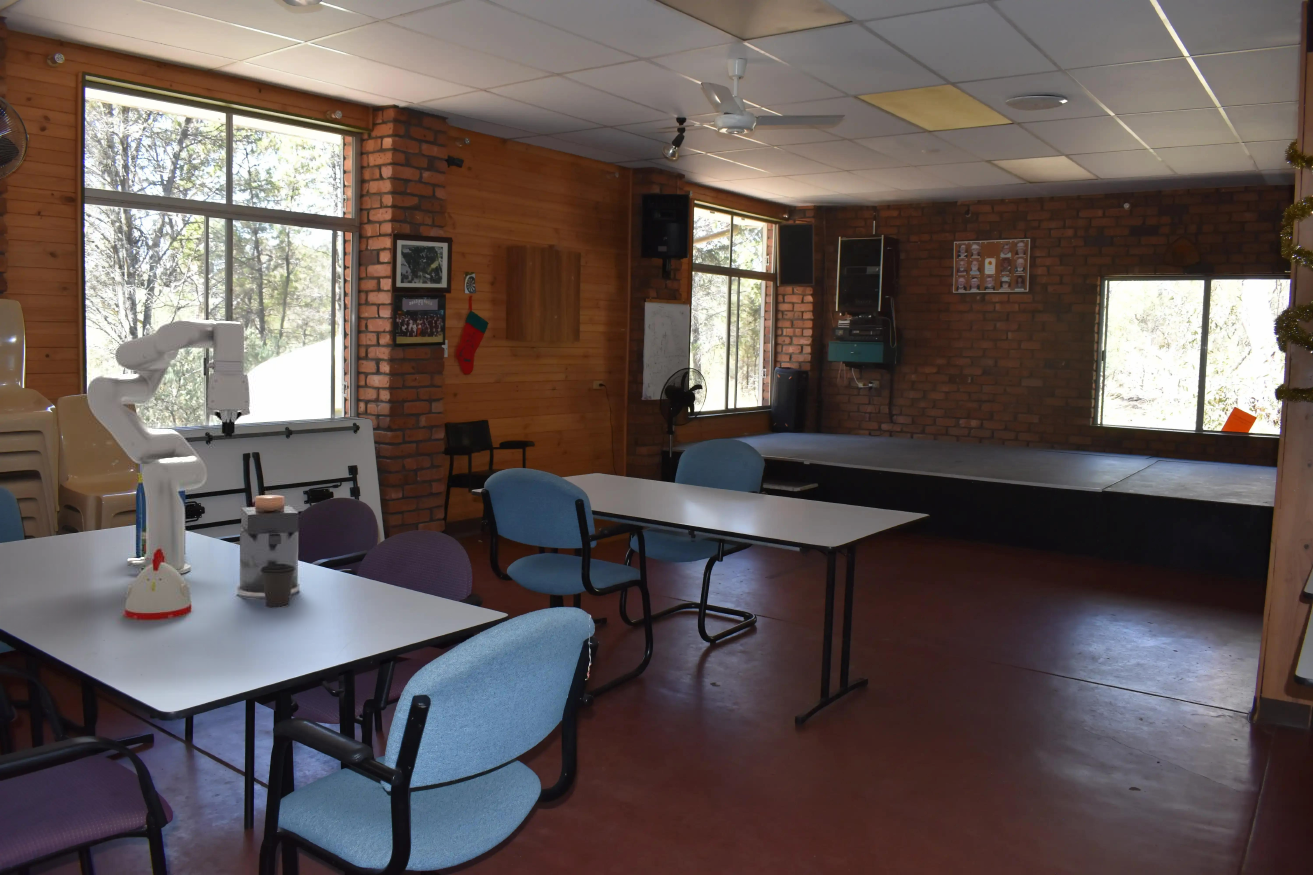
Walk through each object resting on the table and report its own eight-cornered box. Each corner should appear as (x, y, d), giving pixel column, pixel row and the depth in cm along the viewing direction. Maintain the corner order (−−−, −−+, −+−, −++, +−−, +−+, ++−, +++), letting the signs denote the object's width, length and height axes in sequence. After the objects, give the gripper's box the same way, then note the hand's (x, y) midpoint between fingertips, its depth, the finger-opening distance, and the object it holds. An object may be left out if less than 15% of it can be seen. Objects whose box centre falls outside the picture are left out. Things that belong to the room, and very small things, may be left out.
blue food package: (135, 556, 285) (135, 472, 283) (178, 551, 293) (179, 470, 291) (141, 559, 280) (141, 474, 279) (185, 555, 289) (185, 473, 287)
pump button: (257, 528, 243) (257, 499, 242) (253, 524, 249) (253, 495, 248) (286, 527, 246) (286, 498, 246) (281, 522, 252) (281, 494, 252)
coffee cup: (282, 610, 232) (283, 569, 231) (253, 607, 234) (253, 566, 233) (301, 602, 240) (302, 562, 239) (272, 599, 242) (273, 560, 241)
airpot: (243, 604, 236) (243, 517, 234) (233, 588, 252) (234, 506, 250) (306, 598, 244) (307, 515, 242) (294, 583, 259) (295, 504, 258)
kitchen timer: (117, 620, 218) (117, 555, 217) (133, 605, 231) (133, 544, 230) (184, 618, 222) (184, 554, 220) (196, 604, 235) (196, 543, 234)
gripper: (199, 367, 249) (198, 437, 250) (260, 369, 257) (260, 437, 258) (196, 366, 255) (196, 435, 257) (256, 368, 263) (255, 435, 264)
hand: (228, 436), depth 257 cm, fingers closed
